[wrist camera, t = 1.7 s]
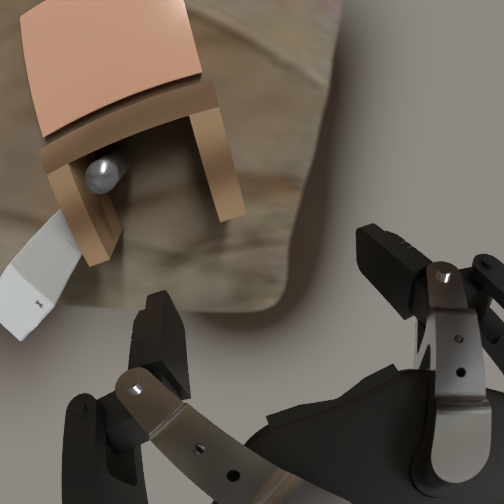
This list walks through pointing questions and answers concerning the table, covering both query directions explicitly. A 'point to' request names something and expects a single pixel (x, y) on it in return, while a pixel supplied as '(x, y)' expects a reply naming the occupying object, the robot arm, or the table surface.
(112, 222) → the c link
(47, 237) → the skincare box
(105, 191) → the post
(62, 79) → the tile
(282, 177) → the table surface
